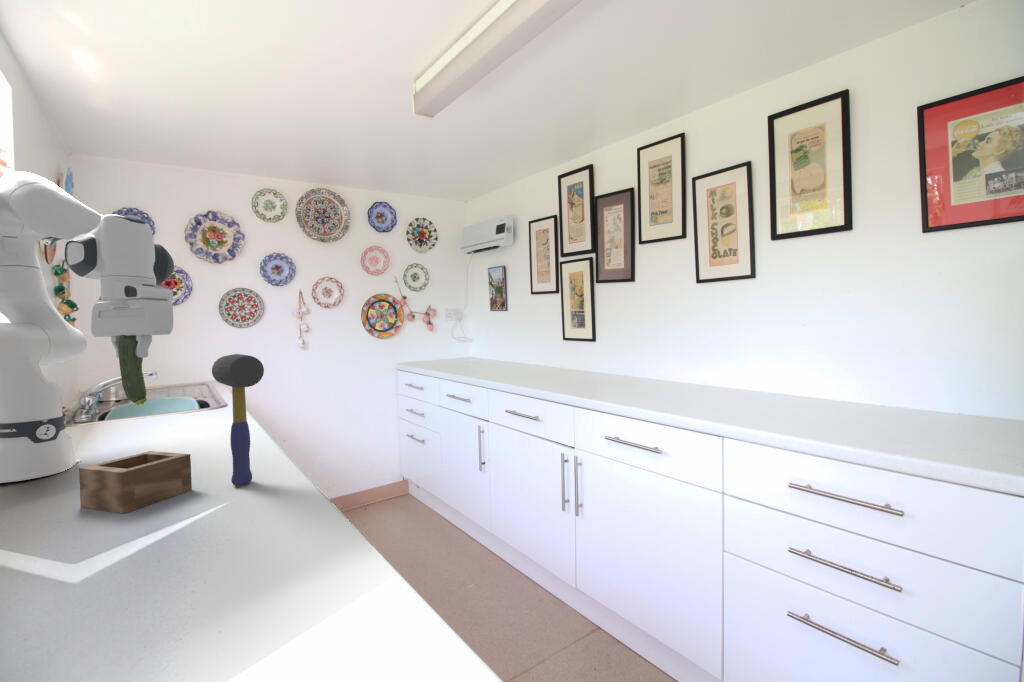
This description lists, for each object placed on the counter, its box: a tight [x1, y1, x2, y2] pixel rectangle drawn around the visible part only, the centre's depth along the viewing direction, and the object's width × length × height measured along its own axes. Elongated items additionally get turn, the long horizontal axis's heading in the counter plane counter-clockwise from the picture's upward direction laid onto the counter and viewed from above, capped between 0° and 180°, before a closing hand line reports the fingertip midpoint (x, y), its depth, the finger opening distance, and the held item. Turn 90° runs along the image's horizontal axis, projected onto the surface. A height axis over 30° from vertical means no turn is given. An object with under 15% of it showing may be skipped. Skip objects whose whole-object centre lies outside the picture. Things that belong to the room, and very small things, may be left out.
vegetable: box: [118, 335, 147, 406], centre depth 91 cm, size 4×4×20 cm
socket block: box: [78, 450, 193, 514], centre depth 91 cm, size 13×13×8 cm
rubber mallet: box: [211, 353, 265, 488], centre depth 97 cm, size 12×8×30 cm, turn 51°
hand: (132, 357), depth 91 cm, fingers closed on vegetable, 4 cm apart
